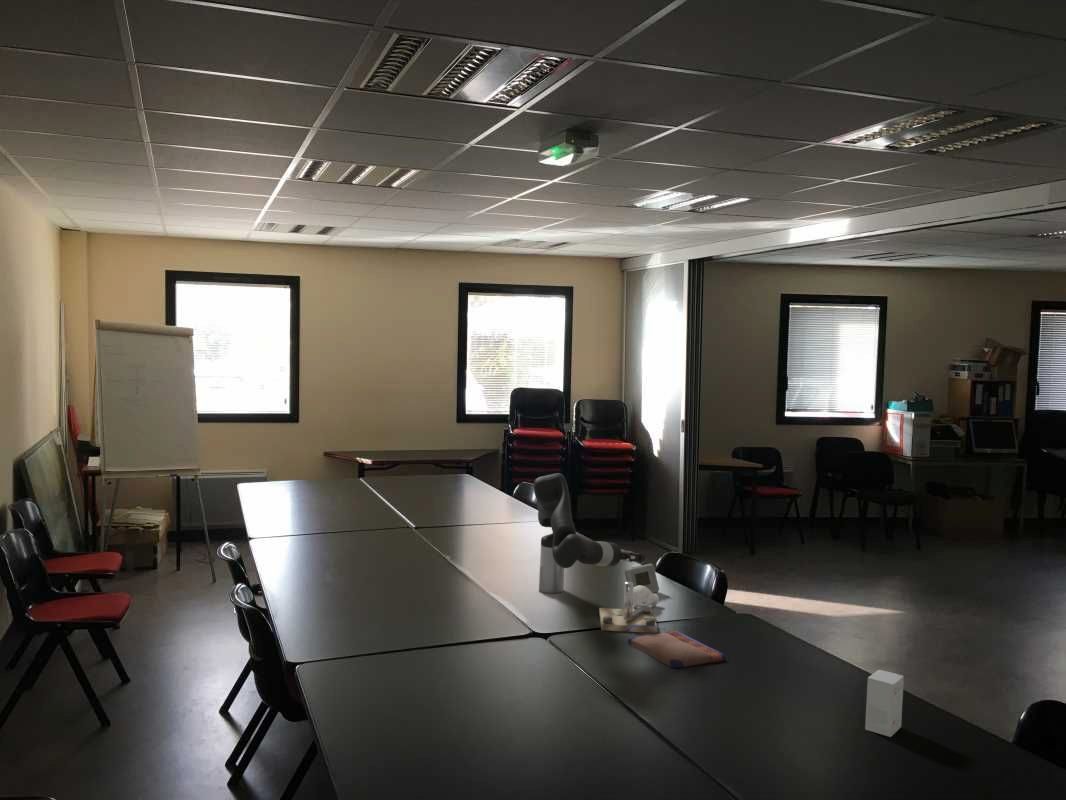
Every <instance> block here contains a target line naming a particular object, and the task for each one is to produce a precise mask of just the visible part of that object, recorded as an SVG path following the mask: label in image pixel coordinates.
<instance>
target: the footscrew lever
mask: <svg viewBox="0 0 1066 800" xmlns="http://www.w3.org/2000/svg"><path fill="white" fill-rule="evenodd" d="M622 609H623V617H624V619H625V620H629V621H631V620H632V619H634V618H636V617H638V616H640V615H641V614H643V613H650V612H651V610H652V606H650V605H649V606H646V604H645V605H643V604H642V605H639V606H637V607H636V609H633V582H627V581H624V584H623V605H622ZM632 610H634V611H632Z"/></svg>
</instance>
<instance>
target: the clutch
mask: <svg viewBox="0 0 1066 800" xmlns="http://www.w3.org/2000/svg"><path fill="white" fill-rule="evenodd" d="M637 626H649V627H656V626H650V625H633V626H630V627H628V628H627V631H626V632H627V634H629V635H630V636H633V637H629V638H627V643H628V645H629V646H631V647H633V648H635V649H637V650H639V651H641V652H643V653H644V654H647V655H648V656H651V657H652V658H653V659H656V660H657V661H659V662H661V663H663V664H664V665H666V666H668V667H670V668H671V669H682V668H689V667H693V666H699V665H703V664H711V663H720V662H725V661H726V657H727V656H726V654H724V653H722V652H721V651H718V650H717V649H715V648H712V647H710V646H708V645H706V644H704V643H702V642H700V641H698V640H696V639H694V638H692V637H690V636H688V635H686V634H684V633H682V632H680V631H678V630H667V629H664V628H661V627H659V626H657V627H656V628H657V629H660V630H663V631H666V632H662V633H655V634H642V635H636V634H631V633H630V632H629V630H630V629H631V628H632V627H637Z"/></svg>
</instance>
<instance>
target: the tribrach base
mask: <svg viewBox="0 0 1066 800" xmlns="http://www.w3.org/2000/svg"><path fill="white" fill-rule="evenodd" d="M634 610H635V609H632V611H634ZM598 614H599V621H600V630H601V631H607V632H608V631H610V632H611V631H613V632H627V628H628V627H630V626H633V625H650V626H656V627H658V625H657V622H656V621H657V620H656V618H655V617H654V616H655V615H654V613H653V610H652V609H651V612H650V613H643V614H641V615H640V616H638V617H636V618H634V619H632V620H631V621H629V620H625V619H624V617H623V608H611V607H610V608H606V607H599V612H598ZM656 627H649V626H637V627H632V628H631V629H630V630H629V633H630V632H631V633H632V632H633V633H655V634H658V628H656Z"/></svg>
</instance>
